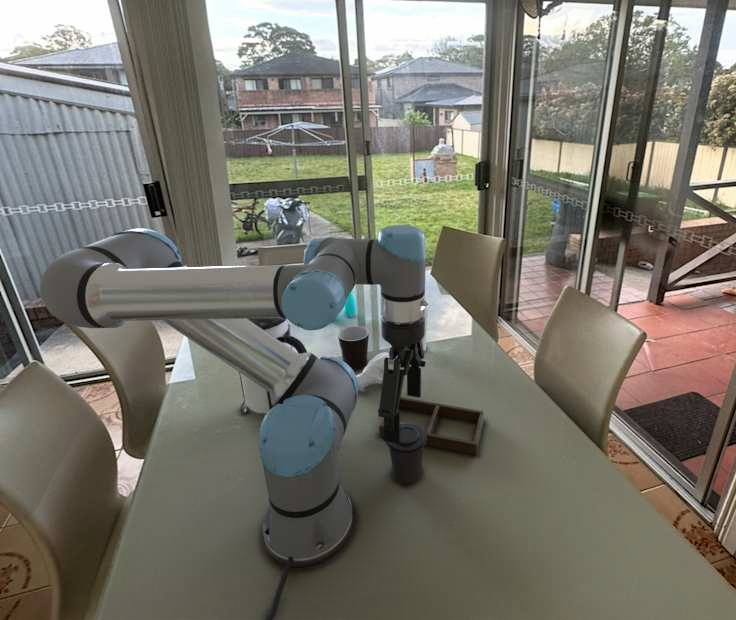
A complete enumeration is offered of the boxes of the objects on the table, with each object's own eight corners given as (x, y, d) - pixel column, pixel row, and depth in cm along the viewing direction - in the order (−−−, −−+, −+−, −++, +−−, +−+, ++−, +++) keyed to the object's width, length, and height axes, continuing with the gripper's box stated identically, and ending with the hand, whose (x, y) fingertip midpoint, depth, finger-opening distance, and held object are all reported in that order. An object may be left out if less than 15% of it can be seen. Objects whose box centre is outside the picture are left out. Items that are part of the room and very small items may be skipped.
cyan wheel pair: (357, 320, 152) (356, 294, 148) (328, 325, 148) (326, 298, 145) (350, 309, 160) (349, 283, 157) (323, 313, 157) (320, 288, 153)
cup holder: (476, 456, 93) (476, 444, 92) (379, 436, 98) (379, 425, 97) (483, 421, 103) (484, 411, 102) (395, 406, 108) (395, 395, 107)
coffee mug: (365, 374, 121) (363, 342, 118) (335, 370, 123) (333, 339, 119) (376, 352, 132) (375, 322, 128) (349, 349, 134) (347, 320, 130)
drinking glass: (401, 352, 132) (400, 306, 127) (412, 342, 138) (412, 298, 132) (422, 357, 129) (421, 311, 124) (432, 346, 135) (432, 302, 129)
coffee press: (237, 433, 100) (214, 314, 89) (243, 392, 114) (224, 285, 103) (315, 419, 104) (303, 304, 93) (311, 381, 118) (300, 277, 107)
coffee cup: (380, 484, 86) (378, 443, 82) (394, 454, 93) (393, 416, 90) (420, 493, 84) (420, 452, 80) (431, 462, 91) (431, 423, 87)
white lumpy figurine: (397, 356, 113) (355, 374, 108) (400, 383, 117) (360, 401, 111) (385, 345, 118) (344, 362, 113) (389, 371, 122) (349, 389, 116)
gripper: (402, 356, 64) (403, 469, 71) (440, 291, 86) (438, 382, 94) (353, 348, 65) (360, 459, 73) (403, 286, 88) (404, 377, 96)
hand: (404, 416), depth 83 cm, fingers open, 13 cm apart
